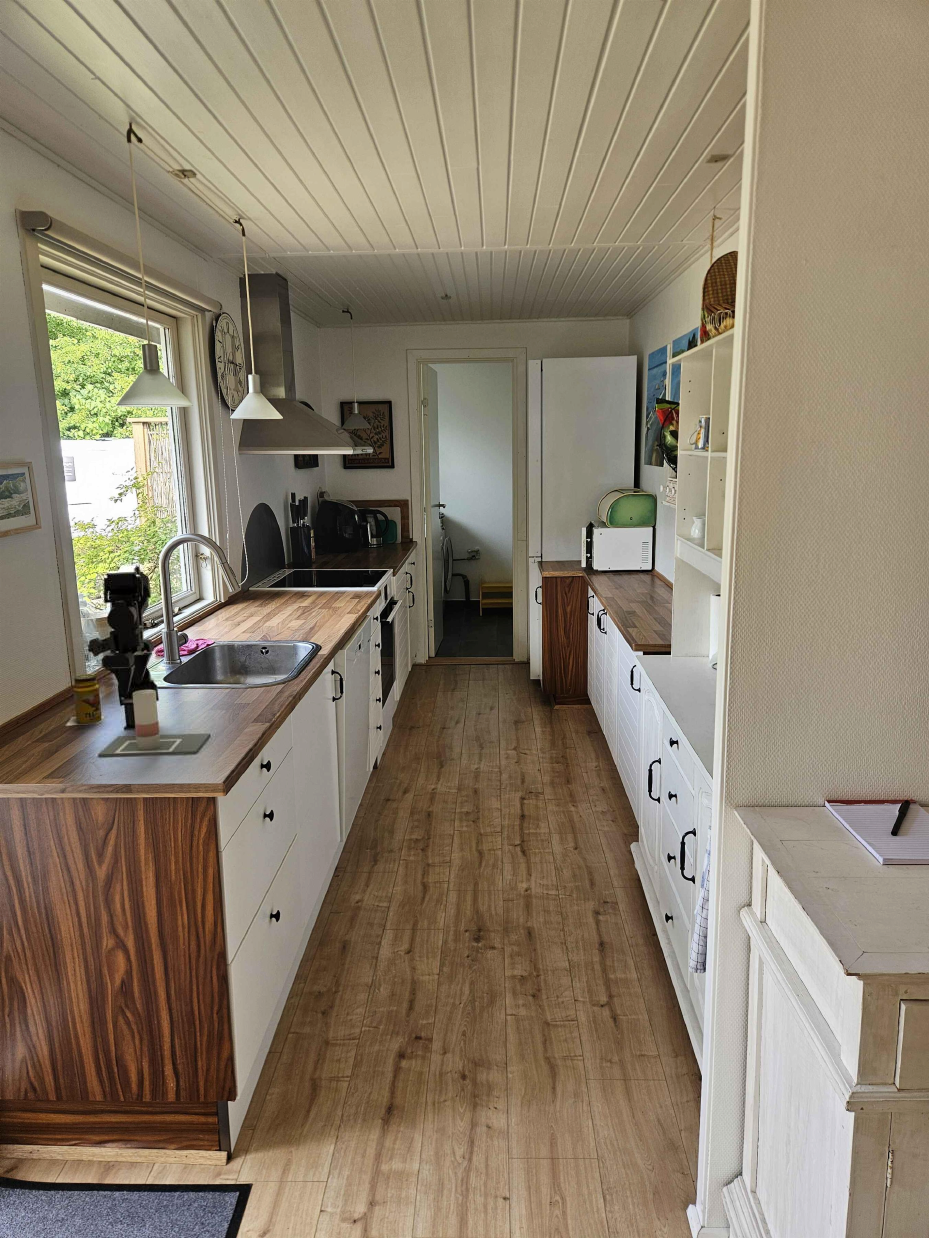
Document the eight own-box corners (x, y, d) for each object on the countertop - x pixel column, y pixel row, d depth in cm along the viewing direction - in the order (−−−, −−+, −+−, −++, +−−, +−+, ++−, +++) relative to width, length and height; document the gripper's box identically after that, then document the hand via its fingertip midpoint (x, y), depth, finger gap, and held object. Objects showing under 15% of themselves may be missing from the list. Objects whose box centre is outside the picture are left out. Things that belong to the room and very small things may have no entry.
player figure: (134, 750, 192) (129, 695, 190) (141, 743, 197) (136, 689, 195) (156, 749, 193) (151, 695, 190) (163, 742, 198) (158, 689, 195)
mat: (98, 756, 190) (97, 753, 190) (118, 738, 203) (118, 735, 203) (196, 753, 191) (195, 750, 191) (210, 735, 204) (210, 732, 204)
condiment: (100, 723, 215) (96, 678, 213) (65, 726, 214) (60, 681, 211) (105, 715, 222) (101, 672, 220) (71, 718, 221) (67, 674, 218)
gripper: (106, 617, 205) (111, 679, 208) (75, 632, 186) (81, 700, 189) (152, 616, 205) (157, 678, 208) (125, 631, 187) (131, 698, 190)
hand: (131, 688), depth 199 cm, fingers open, 9 cm apart
